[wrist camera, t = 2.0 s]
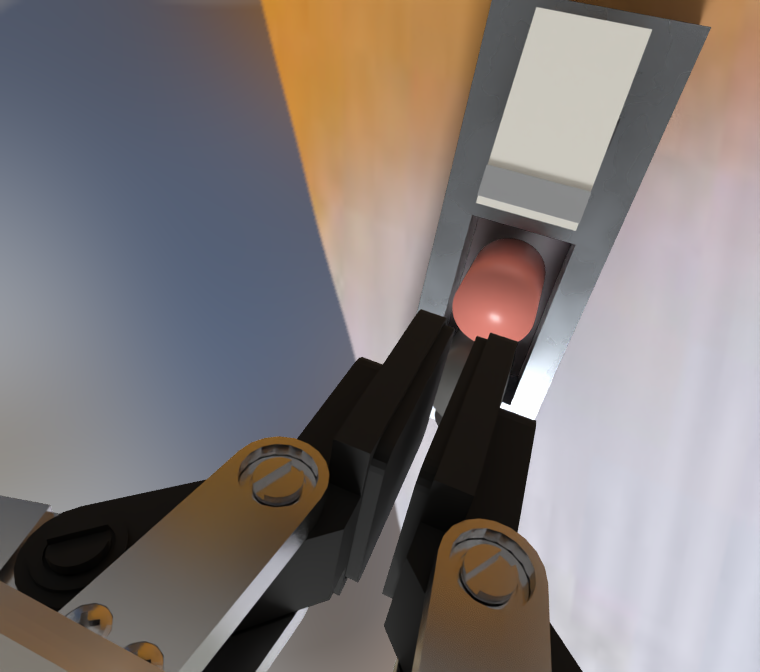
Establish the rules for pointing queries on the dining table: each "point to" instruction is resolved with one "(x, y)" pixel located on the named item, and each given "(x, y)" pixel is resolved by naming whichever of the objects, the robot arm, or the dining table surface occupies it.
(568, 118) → the block
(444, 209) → the panel
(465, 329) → the button
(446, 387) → the button
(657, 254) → the dining table surface
